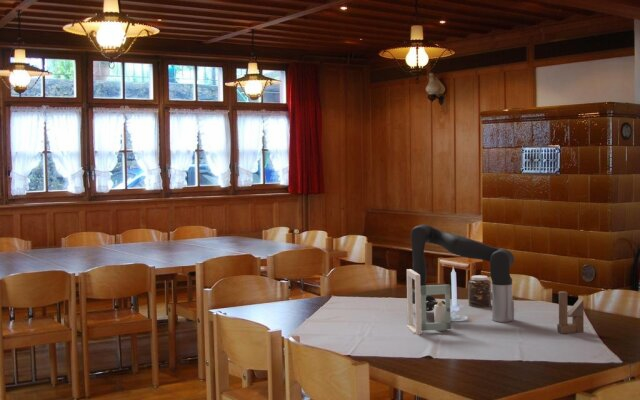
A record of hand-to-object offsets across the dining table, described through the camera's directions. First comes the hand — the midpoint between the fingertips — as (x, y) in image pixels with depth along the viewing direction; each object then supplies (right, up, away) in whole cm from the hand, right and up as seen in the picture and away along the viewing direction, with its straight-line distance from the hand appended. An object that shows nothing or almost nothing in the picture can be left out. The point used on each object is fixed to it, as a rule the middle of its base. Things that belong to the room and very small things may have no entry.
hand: (435, 308), depth 360 cm
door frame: (-11, -9, -8) cm, 16 cm away
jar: (+30, -5, +45) cm, 54 cm away
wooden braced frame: (+56, -8, -19) cm, 60 cm away
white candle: (+1, -8, -8) cm, 12 cm away
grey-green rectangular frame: (-1, -8, -14) cm, 16 cm away
